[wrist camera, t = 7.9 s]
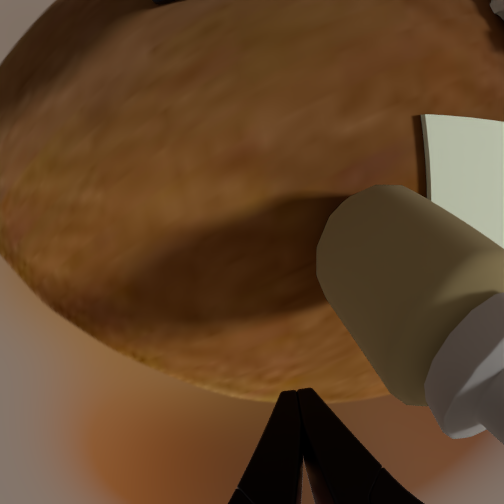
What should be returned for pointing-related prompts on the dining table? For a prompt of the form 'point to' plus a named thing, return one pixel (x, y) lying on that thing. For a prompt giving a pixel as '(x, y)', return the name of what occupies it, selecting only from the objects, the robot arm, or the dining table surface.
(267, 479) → the robot arm
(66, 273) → the dining table surface
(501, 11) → the egg carton
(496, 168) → the mat
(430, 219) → the tan nozzle bottle
